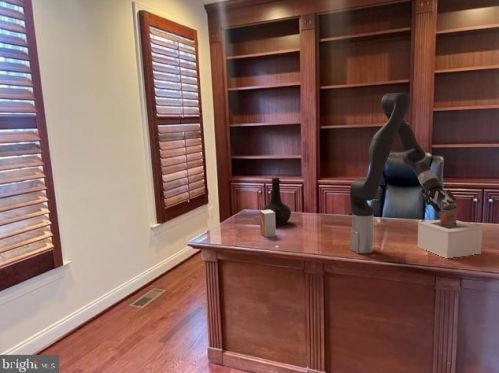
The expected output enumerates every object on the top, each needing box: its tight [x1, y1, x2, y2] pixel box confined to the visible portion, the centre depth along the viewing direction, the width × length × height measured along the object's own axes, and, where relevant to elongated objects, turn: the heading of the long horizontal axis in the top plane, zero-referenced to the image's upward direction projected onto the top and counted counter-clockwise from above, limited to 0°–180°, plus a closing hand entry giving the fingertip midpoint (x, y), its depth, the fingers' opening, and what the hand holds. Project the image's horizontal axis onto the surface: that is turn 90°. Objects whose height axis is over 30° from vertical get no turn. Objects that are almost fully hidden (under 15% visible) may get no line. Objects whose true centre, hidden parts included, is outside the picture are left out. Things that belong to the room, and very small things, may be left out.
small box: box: [259, 209, 277, 238], centre depth 207 cm, size 8×6×13 cm
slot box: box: [417, 219, 484, 259], centre depth 171 cm, size 18×18×12 cm
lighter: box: [439, 202, 458, 227], centre depth 170 cm, size 8×3×10 cm, turn 105°
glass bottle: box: [261, 177, 292, 227], centre depth 228 cm, size 18×18×28 cm
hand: (446, 210), depth 171 cm, fingers open, 8 cm apart
